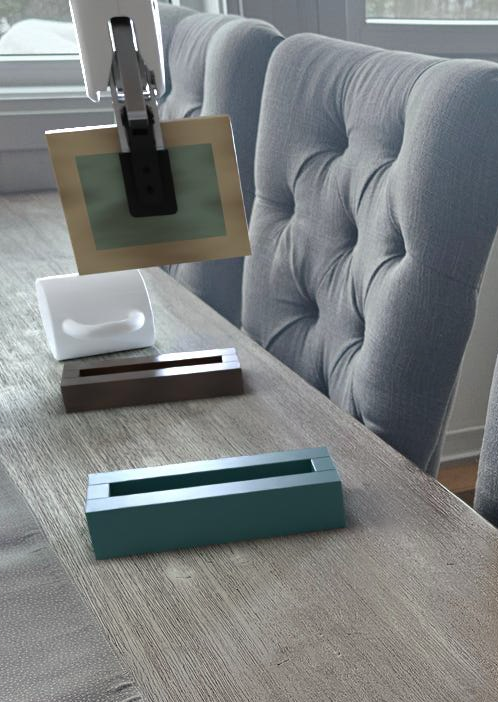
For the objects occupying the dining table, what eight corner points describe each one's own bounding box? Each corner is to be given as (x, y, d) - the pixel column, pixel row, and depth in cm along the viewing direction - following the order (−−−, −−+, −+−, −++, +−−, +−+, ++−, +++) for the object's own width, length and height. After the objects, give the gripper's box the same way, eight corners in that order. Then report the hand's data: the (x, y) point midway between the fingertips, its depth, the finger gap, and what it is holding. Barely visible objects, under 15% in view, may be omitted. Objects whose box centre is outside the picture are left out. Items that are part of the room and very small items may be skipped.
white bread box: (48, 350, 119) (30, 271, 114) (143, 335, 122) (128, 259, 118) (68, 380, 109) (49, 296, 105) (170, 363, 113) (155, 282, 109)
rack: (66, 413, 101) (59, 386, 100) (69, 390, 107) (63, 364, 105) (245, 394, 104) (241, 367, 103) (239, 372, 110) (235, 347, 109)
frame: (79, 276, 78) (44, 133, 73) (79, 271, 79) (45, 130, 74) (252, 255, 80) (229, 115, 75) (250, 251, 81) (228, 113, 76)
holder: (95, 560, 75) (84, 512, 74) (98, 519, 81) (87, 473, 79) (346, 527, 79) (341, 480, 77) (331, 489, 85) (326, 445, 83)
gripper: (38, -102, 73) (98, 199, 83) (23, -120, 61) (97, 238, 70) (155, -105, 75) (201, 191, 85) (165, -123, 62) (218, 228, 72)
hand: (153, 210), depth 78 cm, fingers closed on frame, 1 cm apart
